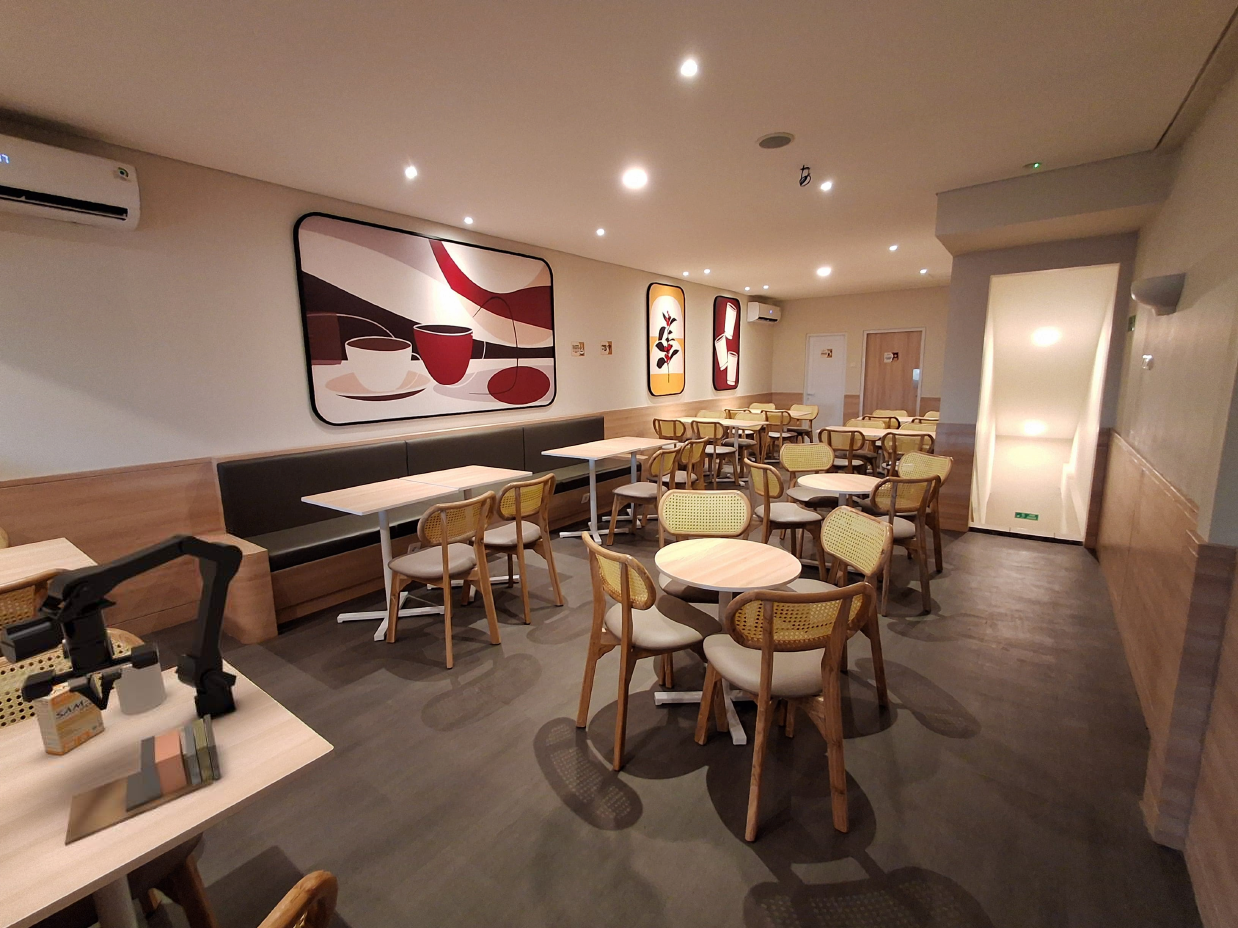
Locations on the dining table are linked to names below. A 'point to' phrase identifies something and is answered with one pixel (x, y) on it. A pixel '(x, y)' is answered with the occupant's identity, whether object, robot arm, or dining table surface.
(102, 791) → the shelf
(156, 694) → the cup
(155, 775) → the bookend
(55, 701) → the supplement box
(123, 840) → the dining table surface
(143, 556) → the robot arm
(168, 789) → the terracotta rectangular block
